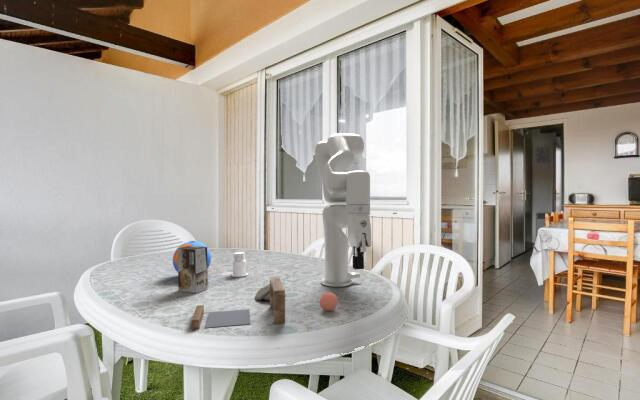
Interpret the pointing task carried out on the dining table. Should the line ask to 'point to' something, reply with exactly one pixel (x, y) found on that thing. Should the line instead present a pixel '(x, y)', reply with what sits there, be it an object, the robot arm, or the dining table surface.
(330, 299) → the ball
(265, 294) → the fossilized seashell
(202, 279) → the coffee box
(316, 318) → the dining table surface
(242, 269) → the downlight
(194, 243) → the treat dispenser ball
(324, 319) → the dining table surface
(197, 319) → the strip
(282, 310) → the bridge
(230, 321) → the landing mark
